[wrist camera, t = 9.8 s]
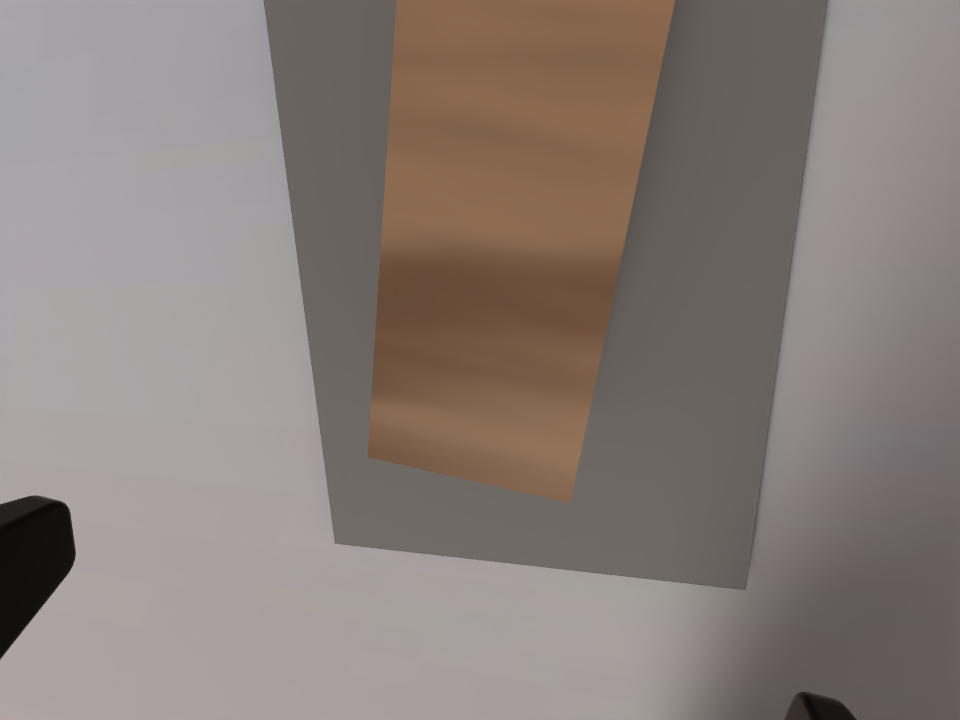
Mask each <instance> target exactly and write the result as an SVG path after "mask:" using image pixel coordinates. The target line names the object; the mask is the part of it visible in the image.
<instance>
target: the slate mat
mask: <svg viewBox="0 0 960 720" xmlns="http://www.w3.org/2000/svg"><path fill="white" fill-rule="evenodd" d="M396 1H397V0H264V6H265V14H266V21H267V29H268V36H269V44H270V52H271V59H272V67H273V74H274V82H275V90H276V97H277V105H278V113H279V120H280V128H281V135H282V143H283V151H284V158H285V166H286V174H287V181H288V189H289V196H290V204H291V212H292V219H293V227H294V234H295V242H296V250H297V257H298V265H299V273H300V280H301V288H302V295H303V303H304V311H305V318H306V326H307V334H308V341H309V349H310V356H311V364H312V372H313V379H314V387H315V395H316V402H317V410H318V417H319V425H320V433H321V440H322V448H323V455H324V463H325V471H326V478H327V486H328V494H329V501H330V509H331V516H332V524H333V532H334V539H335V544H343V545H352V546H361V547H370V548H379V549H387V550H396V551H405V552H414V553H423V554H432V555H441V556H450V557H458V558H467V559H476V560H485V561H494V562H503V563H512V564H520V565H529V566H538V567H547V568H556V569H565V570H574V571H582V572H591V573H600V574H609V575H618V576H627V577H636V578H644V579H653V580H662V581H671V582H680V583H689V584H698V585H706V586H715V587H724V588H733V589H742V590H746V584H747V577H748V570H749V563H750V556H751V548H752V541H753V534H754V527H755V520H756V512H757V505H758V498H759V491H760V484H761V476H762V469H763V462H764V455H765V447H766V440H767V433H768V426H769V419H770V411H771V404H772V397H773V390H774V383H775V375H776V368H777V361H778V354H779V347H780V339H781V332H782V325H783V318H784V311H785V303H786V296H787V289H788V282H789V274H790V267H791V260H792V253H793V246H794V238H795V231H796V224H797V217H798V210H799V202H800V195H801V188H802V181H803V174H804V166H805V159H806V152H807V145H808V138H809V130H810V123H811V116H812V109H813V101H814V94H815V87H816V80H817V73H818V65H819V58H820V51H821V44H822V37H823V29H824V22H825V15H826V8H827V1H828V0H675V3H674V8H673V13H672V18H671V22H670V27H669V32H668V37H667V42H666V46H665V51H664V56H663V61H662V66H661V70H660V75H659V80H658V85H657V90H656V94H655V99H654V104H653V109H652V114H651V118H650V123H649V128H648V133H647V138H646V142H645V147H644V152H643V157H642V162H641V166H640V171H639V176H638V181H637V186H636V190H635V195H634V200H633V205H632V210H631V214H630V219H629V224H628V229H627V234H626V238H625V243H624V248H623V253H622V258H621V262H620V267H619V272H618V277H617V282H616V286H615V291H614V296H613V301H612V306H611V311H610V315H609V320H608V325H607V330H606V335H605V339H604V344H603V349H602V354H601V359H600V363H599V368H598V373H597V378H596V383H595V387H594V392H593V397H592V402H591V407H590V411H589V416H588V421H587V426H586V431H585V435H584V440H583V445H582V450H581V455H580V459H579V464H578V469H577V474H576V479H575V483H574V488H573V493H572V498H571V503H568V502H563V501H559V500H554V499H550V498H546V497H541V496H537V495H532V494H528V493H523V492H519V491H515V490H510V489H506V488H501V487H497V486H492V485H488V484H484V483H479V482H475V481H470V480H466V479H462V478H457V477H453V476H448V475H444V474H439V473H435V472H431V471H426V470H422V469H417V468H413V467H408V466H404V465H400V464H395V463H391V462H386V461H382V460H377V459H373V458H369V457H367V456H368V440H369V424H370V409H371V393H372V377H373V362H374V346H375V330H376V315H377V299H378V283H379V268H380V252H381V236H382V221H383V205H384V189H385V174H386V158H387V142H388V127H389V111H390V95H391V80H392V64H393V48H394V33H395V17H396Z"/></svg>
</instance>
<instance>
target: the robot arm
mask: <svg viewBox="0 0 960 720" xmlns="http://www.w3.org/2000/svg"><path fill="white" fill-rule="evenodd" d="M75 556H76V550H75V543H74V536H73V529H72V522H71V515H70V510H69V508H68V507H67V505H66V504H65V503H63V502H61V501H58V500H54V499H50V498H46V497H42V496H28V497H25V498H21V499H18V500H14V501H11V502H7V503H4V504H0V659H1V658H2V657H3V655H4V654H5V653H6V652H7V650H8V649H9V648H10V646H11V645H12V644H13V643H14V641H15V640H16V639H17V638H18V636H19V635H20V634H21V633H22V631H23V630H24V629H25V628H26V626H27V625H28V624H29V623H30V621H31V620H32V619H33V617H34V616H35V615H36V614H37V612H38V611H39V610H40V609H41V607H42V606H43V605H44V604H45V602H46V601H47V600H48V599H49V597H50V596H51V595H52V594H53V592H54V591H55V590H56V588H57V587H58V586H59V585H60V583H61V582H62V581H63V580H64V578H65V577H66V576H67V575H68V573H69V572H70V570H71V568H72V566H73V564H74V561H75ZM784 720H857V719H856V718H855V717H854V716H853V715H852V713H851V712H850V711H849V710H848V709H847V708H846V707H845V706H844V705H843V704H842V703H841V702H839V701H837V700H835V699H832V698H828V697H825V696H821V695H817V694H813V693H809V692H800V693H798V694H797V695H796V696H795V697H794V699H793V700H792V703H791V705H790V708H789V710H788V712H787V715H786V717H785V719H784Z"/></svg>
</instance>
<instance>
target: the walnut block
mask: <svg viewBox="0 0 960 720" xmlns="http://www.w3.org/2000/svg"><path fill="white" fill-rule="evenodd" d="M674 3H675V0H397V1H396V17H395V33H394V48H393V64H392V80H391V95H390V111H389V127H388V142H387V158H386V174H385V189H384V205H383V221H382V236H381V252H380V268H379V283H378V299H377V315H376V330H375V346H374V362H373V377H372V393H371V409H370V424H369V440H368V456H367V457H369V458H373V459H377V460H382V461H386V462H391V463H395V464H400V465H404V466H408V467H413V468H417V469H422V470H426V471H431V472H435V473H439V474H444V475H448V476H453V477H457V478H462V479H466V480H470V481H475V482H479V483H484V484H488V485H492V486H497V487H501V488H506V489H510V490H515V491H519V492H523V493H528V494H532V495H537V496H541V497H546V498H550V499H554V500H559V501H563V502H568V503H571V498H572V493H573V488H574V483H575V479H576V474H577V469H578V464H579V459H580V455H581V450H582V445H583V440H584V435H585V431H586V426H587V421H588V416H589V411H590V407H591V402H592V397H593V392H594V387H595V383H596V378H597V373H598V368H599V363H600V359H601V354H602V349H603V344H604V339H605V335H606V330H607V325H608V320H609V315H610V311H611V306H612V301H613V296H614V291H615V286H616V282H617V277H618V272H619V267H620V262H621V258H622V253H623V248H624V243H625V238H626V234H627V229H628V224H629V219H630V214H631V210H632V205H633V200H634V195H635V190H636V186H637V181H638V176H639V171H640V166H641V162H642V157H643V152H644V147H645V142H646V138H647V133H648V128H649V123H650V118H651V114H652V109H653V104H654V99H655V94H656V90H657V85H658V80H659V75H660V70H661V66H662V61H663V56H664V51H665V46H666V42H667V37H668V32H669V27H670V22H671V18H672V13H673V8H674Z"/></svg>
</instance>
